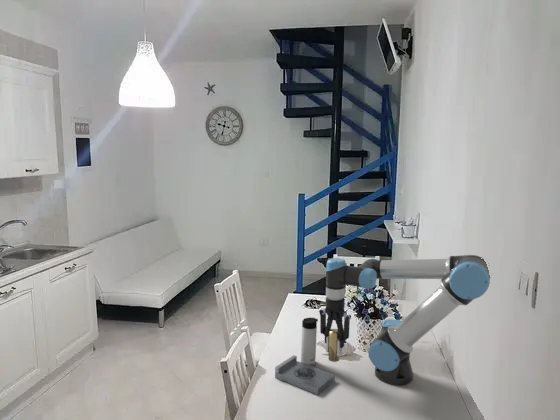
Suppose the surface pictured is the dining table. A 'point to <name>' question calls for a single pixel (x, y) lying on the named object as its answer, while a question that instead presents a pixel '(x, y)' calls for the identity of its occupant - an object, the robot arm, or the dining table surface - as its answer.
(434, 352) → the dining table surface
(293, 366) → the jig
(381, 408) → the dining table surface
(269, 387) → the dining table surface
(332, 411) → the dining table surface
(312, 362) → the travel mug
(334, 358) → the gold metal cylinder
